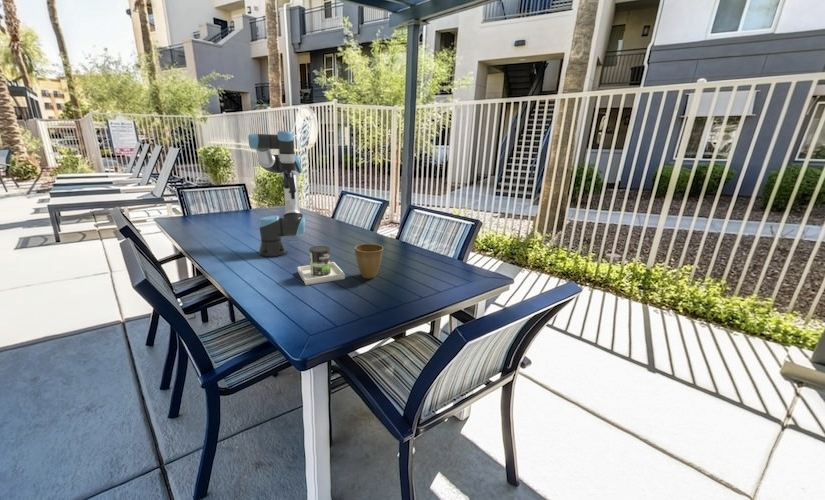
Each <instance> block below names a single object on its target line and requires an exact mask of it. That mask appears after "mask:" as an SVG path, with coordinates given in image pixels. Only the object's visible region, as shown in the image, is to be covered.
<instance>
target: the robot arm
mask: <svg viewBox="0 0 825 500" xmlns="http://www.w3.org/2000/svg"><path fill="white" fill-rule="evenodd" d="M247 138H248V147H249V148H250V149H251V150H252V149H254V150H255V152H256V155H257V162H258V164H259V165H260V167H261V168H262V169H263V170H265V171H266V172H270V173H273V174H280V177H282V178H283V192H284V207H285V212H284V214H282V215H283V216H282V217H280V216H279V215H278V214H277V215H276V214H275V215H274V214H273V215H272V214H271V215H267V216H264V217H261V218H260V219H259V220H258V221H259V222H258V223H259V225H258V227H259V233H260V245H259V246H260V247H259V249H258V253H259V254H260V255H259V256H261V255H262V256H261V257H264V256H269V257H268V258H270V257H271V256H274V257H278V256H279V255H280V256H283V255H285V254H286V248H285V246H284V243H283V241H282V237H283V238H284V237H299V236H304V235H305V228H306V217H305V216H304V215H303V213H302V212H301V211H300V210H301V208H300V197H299V195H300V194H299V182H298V180H299V179H298V178H299V177H300V174H302V173H303V172H302V171H303V169H302V165H301V159H300V156H298V155H296V154H295V143H294V140H295V139H294V138H295V137H294V133H293V132H292V131H289V130H288V131H287V130H284V131H283V130H278V131H277V134H269V133H250V134H248V137H247ZM272 150H278V154H272ZM282 254H283V255H282ZM271 258H272V257H271Z"/></svg>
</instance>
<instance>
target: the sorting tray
mask: <svg viewBox="0 0 825 500" xmlns="http://www.w3.org/2000/svg"><path fill="white" fill-rule="evenodd" d="M330 272H331V274H330V275H329V276H323V277H313V276H311V266H310V264H309V265H302V266H297V273H298V274H299V276H300V278H301V280H302V282H303V281H304V282H303V283H304V285H305V286H310V285H317V284H322V283H328V282H336V281H341V280H342V281H343V280H346V273H345V272H344V271H343V270H342V269H341V267H340V266H338V265H337V263H336V262H335V261H330Z"/></svg>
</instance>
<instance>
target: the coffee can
mask: <svg viewBox="0 0 825 500" xmlns="http://www.w3.org/2000/svg"><path fill="white" fill-rule="evenodd" d="M308 251H309V260H310V262H309V265H310V266H311V276H313V277H323V276H329V275H330V274H331V272H330V262H331V254H330V251H331V248H330V247H329V246H326V245H317V246H311V247H310V248H309V249H308Z"/></svg>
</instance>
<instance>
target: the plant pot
mask: <svg viewBox="0 0 825 500" xmlns="http://www.w3.org/2000/svg"><path fill="white" fill-rule="evenodd" d="M354 254H355V257H356V258H355V259H356V262H357V263H356V264H357V265H358V266H357V267H358V269H359V271H360V276H361V277H362V278H363V279H375V278H376V277H377V274H378V272H379V269H380V266H381V263H382V258H383V254H384V247H383V245H380V244H376V243H362V244H357V245H356V246H355V247H354Z"/></svg>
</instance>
